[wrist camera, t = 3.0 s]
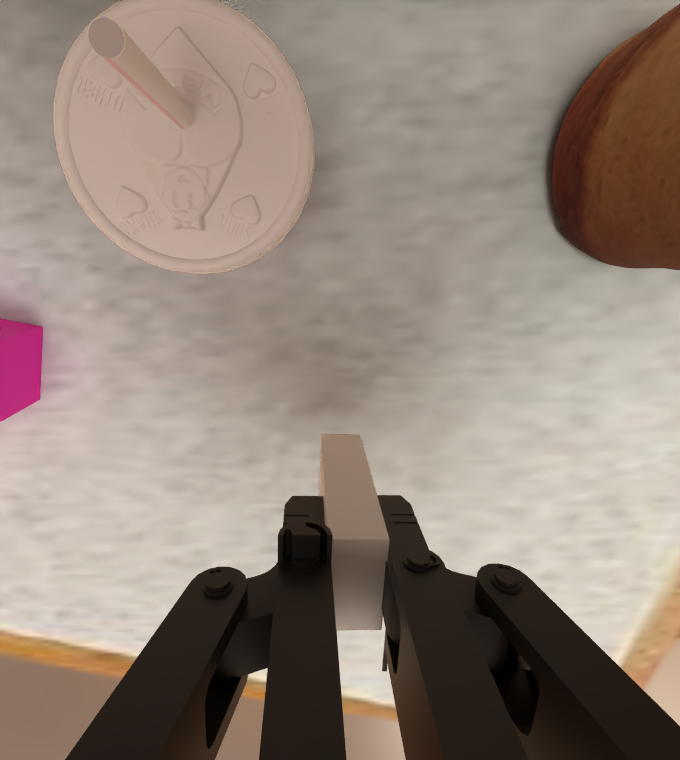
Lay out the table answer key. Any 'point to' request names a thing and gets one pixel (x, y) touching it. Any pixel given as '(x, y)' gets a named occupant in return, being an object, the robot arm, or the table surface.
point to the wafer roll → (625, 154)
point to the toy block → (19, 366)
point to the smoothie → (184, 134)
